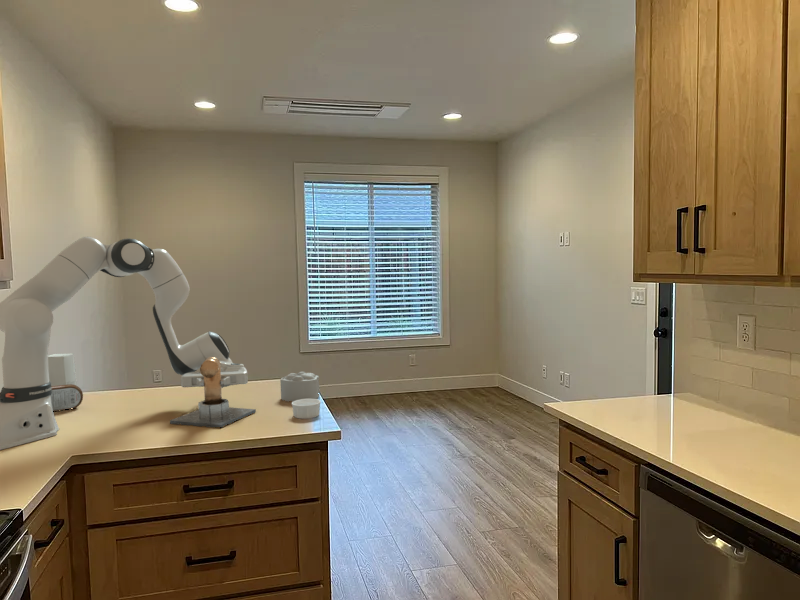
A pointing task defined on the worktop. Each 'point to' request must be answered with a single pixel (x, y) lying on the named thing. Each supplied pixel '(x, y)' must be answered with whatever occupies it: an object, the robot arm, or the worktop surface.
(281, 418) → the worktop surface
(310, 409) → the ramekin
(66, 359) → the skincare box
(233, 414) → the duct collar
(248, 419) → the worktop surface
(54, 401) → the tin
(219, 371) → the wooden knob peg
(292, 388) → the lumpy-topped squat cylinder
